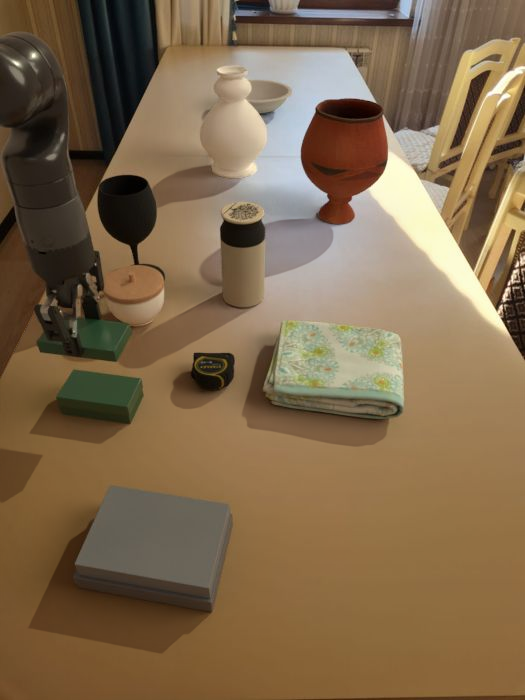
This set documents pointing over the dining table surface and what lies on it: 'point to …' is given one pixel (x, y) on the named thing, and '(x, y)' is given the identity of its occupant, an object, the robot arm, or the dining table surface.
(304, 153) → the goblet
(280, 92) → the soup bowl
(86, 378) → the green books
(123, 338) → the green book
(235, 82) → the decorative vase
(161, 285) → the trinket box
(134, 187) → the wine glass
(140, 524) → the grey books
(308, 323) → the towel
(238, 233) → the travel mug
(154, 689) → the dining table surface
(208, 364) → the tape measure
